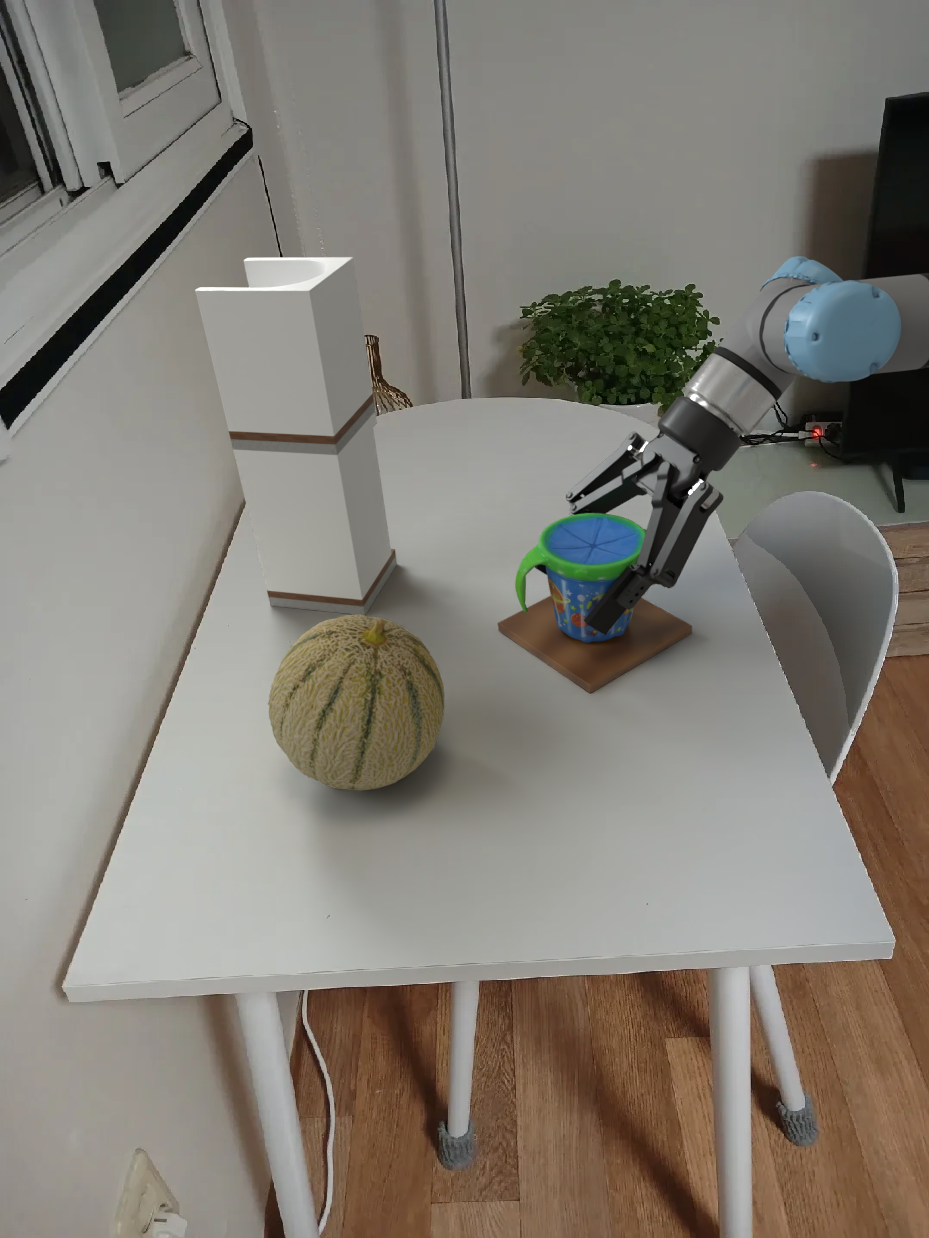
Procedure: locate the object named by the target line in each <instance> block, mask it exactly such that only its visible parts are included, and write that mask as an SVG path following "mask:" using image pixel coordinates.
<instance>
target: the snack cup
mask: <svg viewBox="0 0 929 1238" xmlns="http://www.w3.org/2000/svg"><path fill="white" fill-rule="evenodd" d="M567 516H568V515H567ZM567 516H565V517H563V518H560V519H558V520H556V521H554V522H552V523H550V524H549V525H548V526H546V527H545V529H543V530H542V532H541V534H540V536H539V539H538V542H537V545H535V546H534V547H532V548H531V550H529V551H528V552H527V553H526V554H525V556H524V557H523V558H522V560H521V561H520V563H519V566H518V568H517V571H516V575H515V581H514V584H515V585H514V587H515V593H516V597H517V601H518V602H519V604H520V607H521V609H522V610H523V611H524V612H525V613H527V611H528V609H527V608H528V607H527V605H526V597H527V596H526V593H527V592H526V591H527V590H526V589H527V587H526V586H527V575H528V574H529V573H530V572H531V571H532V570H533V569H534V568H535V566H537V565H539V564H543V565H546V571H547V575H546V576H547V577H546V578H547V583H548V589H549V594H550V596H551V599H552V603H553V608H554V613H555V618H556V621H557V626H558V628H559V629H560V630H562V631H563V632H564V633H566V634H567V635H568V636H570V637H572V638H574V639H578V640H581V641H583V642H585V643H591V642H593V641H595V642H596V641H605V640H609V639H611V638H613V637H617V636H622V635H623V634H624V632H625V630H626V628H627V627H628V625H629V623H630V622H631V618H632V613H633V609H634V607H633V608H632V609H630V610H628V609H626V611H625V612H624V613H623V614H622V616H621V617H620V618H619V619H618V620H617V622H616V623H615V624H614V625H613V627H612V628H611V629H610V630H609V631H608V633H607V634H606V635H604V634H602V633H601V632H599V631H597V630H596V629H594V628H592V627H591V626H589V625H587V624H586V623H585V621H584V619H585V618H586V617H587V616H588V614H589V613H590V612H591V611H592V609H593V608H594V607H595V606H596V604H597V603H598V602H599V601H600V600H601V598H602V597H603V596H604V595H605V593H606V592H607V591H608V590H609V588H610V587H611V586H612V585H613V583H614V582H615V581H616V580H617V578H618V577H619V576H620V575H621V574H622V573H623V571H624V570H625V569H626V567H627V566H628V567H629V568H630V565H634V564H637V560H638V557H639V554H640V550H641V547H642V544H643V540H644V537H645V533H646V530H647V528H646V529H645V528H643V527H642V526H641V525H639V524H638V523H637V522H635V521H633V520H631V519H629V518H626V517H623V516H622V515H621V516H620V515H615V514H611V513H610V514H609V513H606V514H603V513H585V514H577V515H572V516H568V517H567ZM666 571H668V569H666ZM661 586H662V587H663V588H666V587H665V586H663V585H661Z"/></svg>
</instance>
